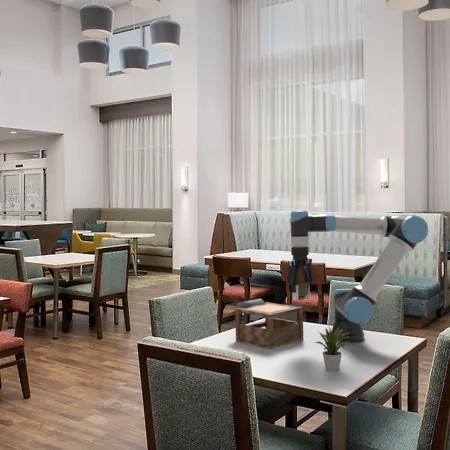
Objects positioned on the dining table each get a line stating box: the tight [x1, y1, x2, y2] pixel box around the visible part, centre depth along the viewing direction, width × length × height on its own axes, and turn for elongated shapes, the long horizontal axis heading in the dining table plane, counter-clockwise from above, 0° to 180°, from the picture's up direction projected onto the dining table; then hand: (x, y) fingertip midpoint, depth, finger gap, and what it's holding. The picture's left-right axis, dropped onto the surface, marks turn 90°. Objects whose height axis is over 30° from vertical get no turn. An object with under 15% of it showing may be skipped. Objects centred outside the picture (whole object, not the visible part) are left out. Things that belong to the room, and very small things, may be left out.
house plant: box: [315, 325, 352, 372], centre depth 209 cm, size 14×14×16 cm
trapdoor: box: [235, 298, 290, 314], centre depth 260 cm, size 22×15×5 cm
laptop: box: [273, 303, 303, 322], centre depth 284 cm, size 18×12×13 cm
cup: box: [297, 279, 310, 301], centre depth 243 cm, size 8×7×8 cm
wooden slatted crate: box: [234, 301, 304, 350], centre depth 257 cm, size 22×22×15 cm
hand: (301, 298), depth 243 cm, fingers closed on cup, 7 cm apart
